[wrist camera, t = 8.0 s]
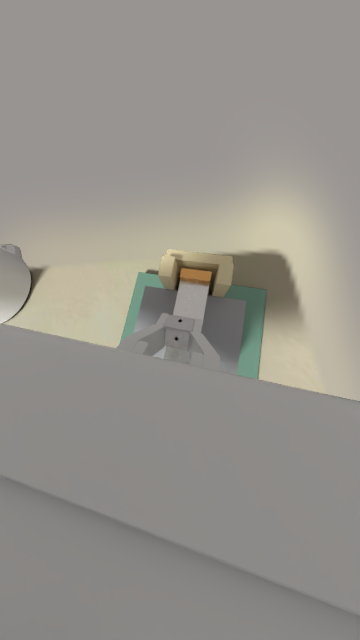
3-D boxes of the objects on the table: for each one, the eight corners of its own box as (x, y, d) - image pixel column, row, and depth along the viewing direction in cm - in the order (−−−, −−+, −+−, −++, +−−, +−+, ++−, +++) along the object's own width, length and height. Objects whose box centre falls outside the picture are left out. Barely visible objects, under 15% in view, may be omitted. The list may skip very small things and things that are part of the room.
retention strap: (155, 393, 13) (149, 401, 12) (180, 275, 16) (179, 265, 14) (191, 403, 13) (191, 412, 11) (212, 279, 15) (215, 270, 13)
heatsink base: (114, 382, 21) (40, 417, 11) (142, 276, 24) (103, 225, 14) (248, 417, 19) (314, 506, 8) (261, 293, 21) (323, 246, 11)
